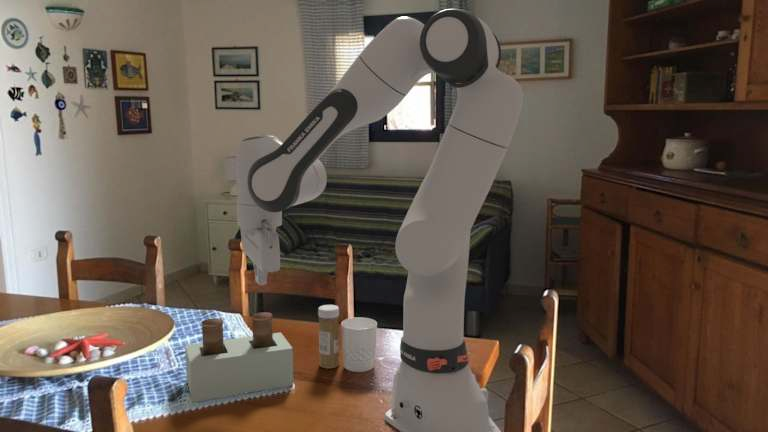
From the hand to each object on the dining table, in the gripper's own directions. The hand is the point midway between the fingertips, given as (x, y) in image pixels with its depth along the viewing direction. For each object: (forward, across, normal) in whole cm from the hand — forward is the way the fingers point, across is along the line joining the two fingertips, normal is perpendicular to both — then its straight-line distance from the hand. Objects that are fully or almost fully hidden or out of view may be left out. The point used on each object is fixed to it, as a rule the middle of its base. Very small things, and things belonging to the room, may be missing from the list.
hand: (261, 283), depth 124 cm
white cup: (+21, -1, -21) cm, 30 cm away
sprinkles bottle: (+21, +2, -15) cm, 26 cm away
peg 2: (+15, 0, 0) cm, 15 cm away
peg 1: (+15, 0, +10) cm, 18 cm away
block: (+21, 0, +5) cm, 21 cm away
